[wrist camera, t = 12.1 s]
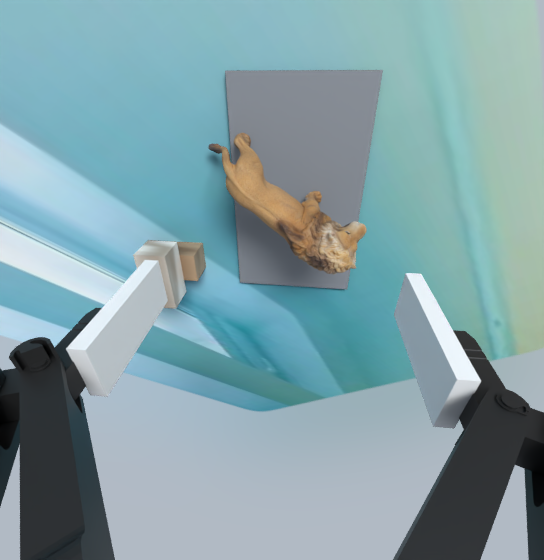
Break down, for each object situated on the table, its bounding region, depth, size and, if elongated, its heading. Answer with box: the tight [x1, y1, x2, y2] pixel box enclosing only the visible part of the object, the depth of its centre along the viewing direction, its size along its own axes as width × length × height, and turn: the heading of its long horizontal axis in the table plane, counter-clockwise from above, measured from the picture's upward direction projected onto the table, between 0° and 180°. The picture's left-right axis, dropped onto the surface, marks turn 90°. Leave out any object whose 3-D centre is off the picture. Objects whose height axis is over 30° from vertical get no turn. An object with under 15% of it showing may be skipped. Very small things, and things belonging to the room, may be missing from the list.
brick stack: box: [133, 240, 206, 309], centre depth 32 cm, size 6×6×6 cm
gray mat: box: [225, 70, 383, 289], centre depth 29 cm, size 12×20×1 cm, turn 0°
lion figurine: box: [209, 133, 366, 275], centre depth 25 cm, size 15×5×9 cm, turn 62°
